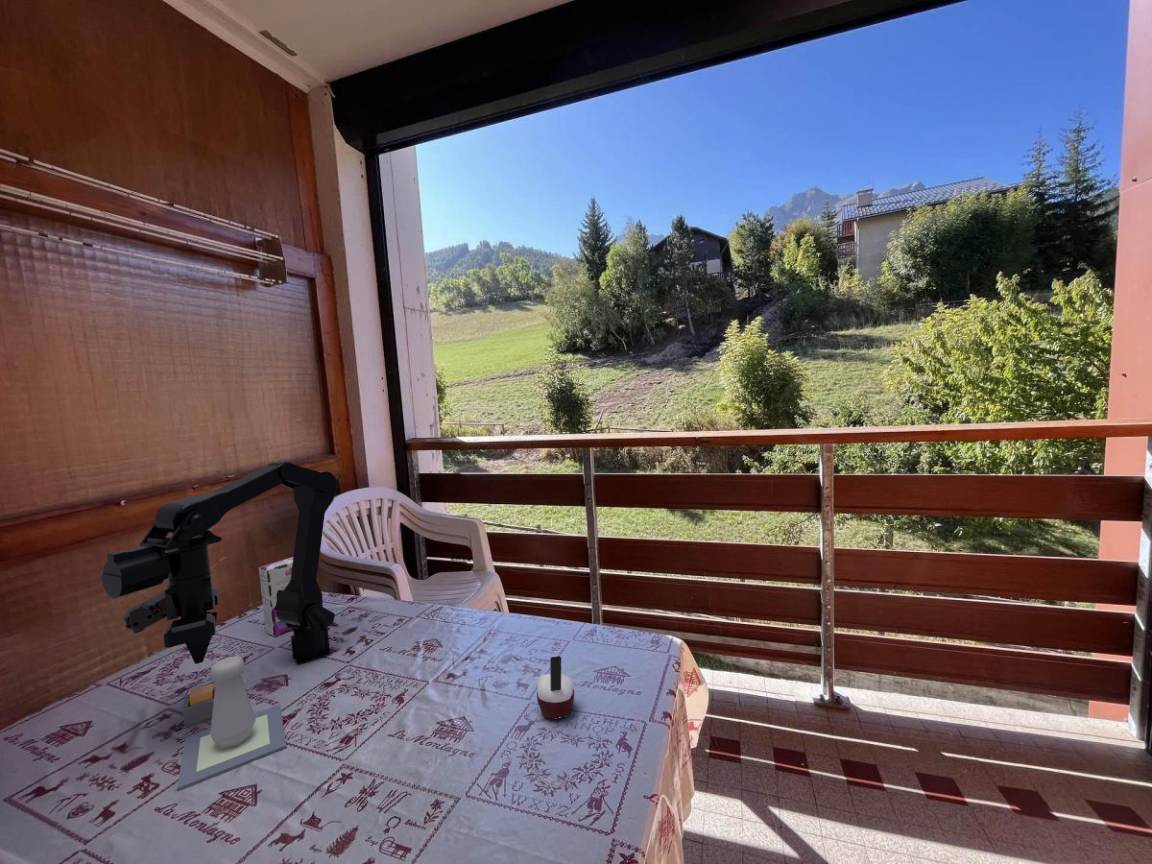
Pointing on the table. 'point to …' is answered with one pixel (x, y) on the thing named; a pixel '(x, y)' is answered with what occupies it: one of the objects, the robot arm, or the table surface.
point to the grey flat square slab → (230, 749)
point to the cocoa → (555, 691)
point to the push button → (201, 694)
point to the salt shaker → (230, 704)
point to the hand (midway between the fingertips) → (199, 662)
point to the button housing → (197, 712)
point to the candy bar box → (274, 593)
